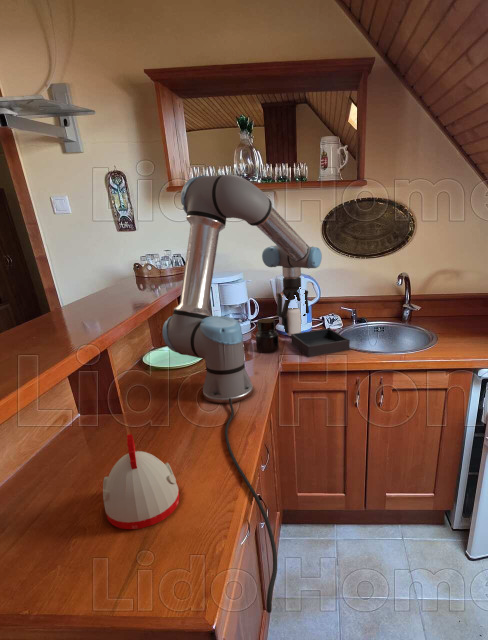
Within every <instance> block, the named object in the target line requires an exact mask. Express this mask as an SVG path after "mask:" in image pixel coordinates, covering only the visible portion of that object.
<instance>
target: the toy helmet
mask: <svg viewBox="0 0 488 640" xmlns="http://www.w3.org/2000/svg"><path fill="white" fill-rule="evenodd" d="M126 444H127V445H126V446H127V449H128V453H126V454H125V455H123V456H122V457H120V458H119V459H118V460H117V461H116V462H115V464H114V465H113V467H112V468H111V470H110V472H109V473H108V476H104V478H103V482H102V483H103V484H102V499H103V505H104V511H105V515H106V518H107V521H108V522H109V524H110V525H112V526H113V527H116V528H118V529H123V530H140V529H144V528H147V527H151V526H153V525H155V524H158V523H160V522H162V521H163V520H165V519H166V518H168V517H169V516H170V515H172V513H174V511H175V510H176V509H177V507H178V505H179V504H180V497H181V495H180V491H179V486H178V484H177V479H176V476H175V474H174V472H173V470H172V467H171V466H170V463H169V462H165V463H164V462H163V461H162V460H160V459H159V458H158V457H156V456H155V455H154V454H151V453H150V452H146V451H141V450H136V445H135V440H134V436H133V433H130V434H127V435H126Z"/></svg>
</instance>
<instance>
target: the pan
mask: <svg viewBox="0 0 488 640" xmlns="http://www.w3.org/2000/svg"><path fill="white" fill-rule="evenodd" d="M290 339H291V340H290V341H291V342H290V343H291V345H293V346H294V348H296V349H298V350H299V351H300V352H302V353H303V354H304V355H305V356H306V357H308V358H310V357H316V356H317V357H318V356H321V355H327V354H332V353H339V352H344V351H350V339H349V338H347V337H345V336H344V335H342V334H340V333H338V332H337V331H335V330H333V329H332V328H324V329H323V328H322V329H317V330H309V331H301V333H295V334H291V336H290Z"/></svg>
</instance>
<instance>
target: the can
mask: <svg viewBox="0 0 488 640" xmlns="http://www.w3.org/2000/svg"><path fill="white" fill-rule="evenodd" d="M286 318H287V321H288V333H287V334H286V336H288V337H291V334H295V333H302V331H301V312H300V309H299V308H293V309H292V308H288V310H287V314H286Z"/></svg>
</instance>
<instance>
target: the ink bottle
mask: <svg viewBox="0 0 488 640" xmlns="http://www.w3.org/2000/svg"><path fill="white" fill-rule="evenodd" d="M256 324H257V332H256V333H255V346H256V347H255V348H256V351H257V352H259V353H263V354H270V353H274V352H275V353H276V352H278V350H279V349H280V342H279V341H280V340H279V332H277V331H276V320H275V318H271V317H264V318H259V319H258V320H256Z"/></svg>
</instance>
